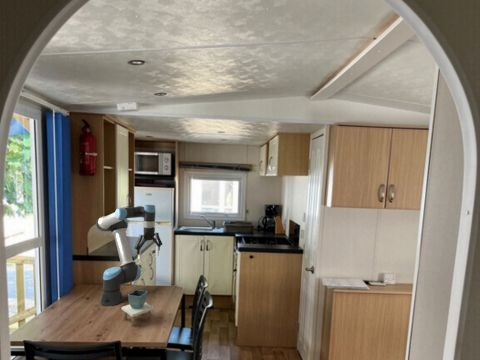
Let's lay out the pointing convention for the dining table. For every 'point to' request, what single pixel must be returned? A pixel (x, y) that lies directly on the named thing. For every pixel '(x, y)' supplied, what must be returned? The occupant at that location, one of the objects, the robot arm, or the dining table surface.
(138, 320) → the dining table surface
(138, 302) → the flower pot
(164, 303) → the dining table surface
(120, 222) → the robot arm
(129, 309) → the footstool
